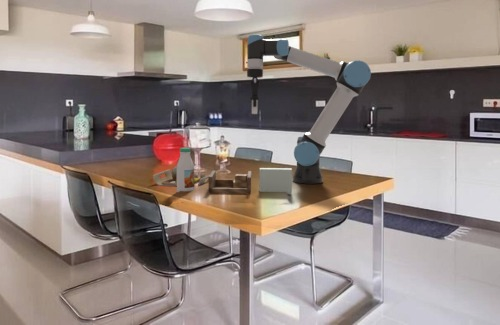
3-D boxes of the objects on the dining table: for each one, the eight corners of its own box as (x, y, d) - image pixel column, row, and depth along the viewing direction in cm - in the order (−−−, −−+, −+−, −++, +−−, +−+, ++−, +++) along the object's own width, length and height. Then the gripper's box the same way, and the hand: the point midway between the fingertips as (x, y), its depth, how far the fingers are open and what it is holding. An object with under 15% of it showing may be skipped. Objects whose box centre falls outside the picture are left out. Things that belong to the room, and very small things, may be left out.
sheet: (290, 192, 177) (291, 168, 175) (291, 194, 174) (292, 169, 172) (259, 192, 177) (259, 167, 175) (259, 194, 174) (259, 169, 172)
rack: (251, 189, 185) (251, 171, 184) (250, 197, 170) (250, 177, 168) (212, 188, 186) (212, 170, 184) (208, 196, 170) (208, 176, 169)
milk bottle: (177, 194, 172) (177, 149, 169) (176, 191, 180) (175, 147, 177) (195, 194, 174) (195, 148, 171) (193, 190, 182) (192, 146, 179)
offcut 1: (247, 180, 182) (247, 174, 182) (246, 182, 178) (246, 176, 177) (236, 180, 182) (236, 173, 182) (235, 182, 178) (235, 175, 178)
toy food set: (152, 185, 192) (152, 170, 191) (169, 179, 210) (169, 164, 209) (201, 189, 186) (201, 173, 185) (214, 182, 203) (214, 167, 202)
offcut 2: (246, 186, 183) (246, 180, 183) (246, 188, 178) (246, 182, 178) (233, 186, 183) (233, 180, 183) (233, 188, 178) (233, 182, 178)
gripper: (247, 70, 202) (247, 112, 205) (246, 66, 177) (246, 114, 181) (262, 71, 202) (261, 113, 205) (263, 66, 177) (262, 114, 181)
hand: (254, 113), depth 193 cm, fingers open, 13 cm apart
